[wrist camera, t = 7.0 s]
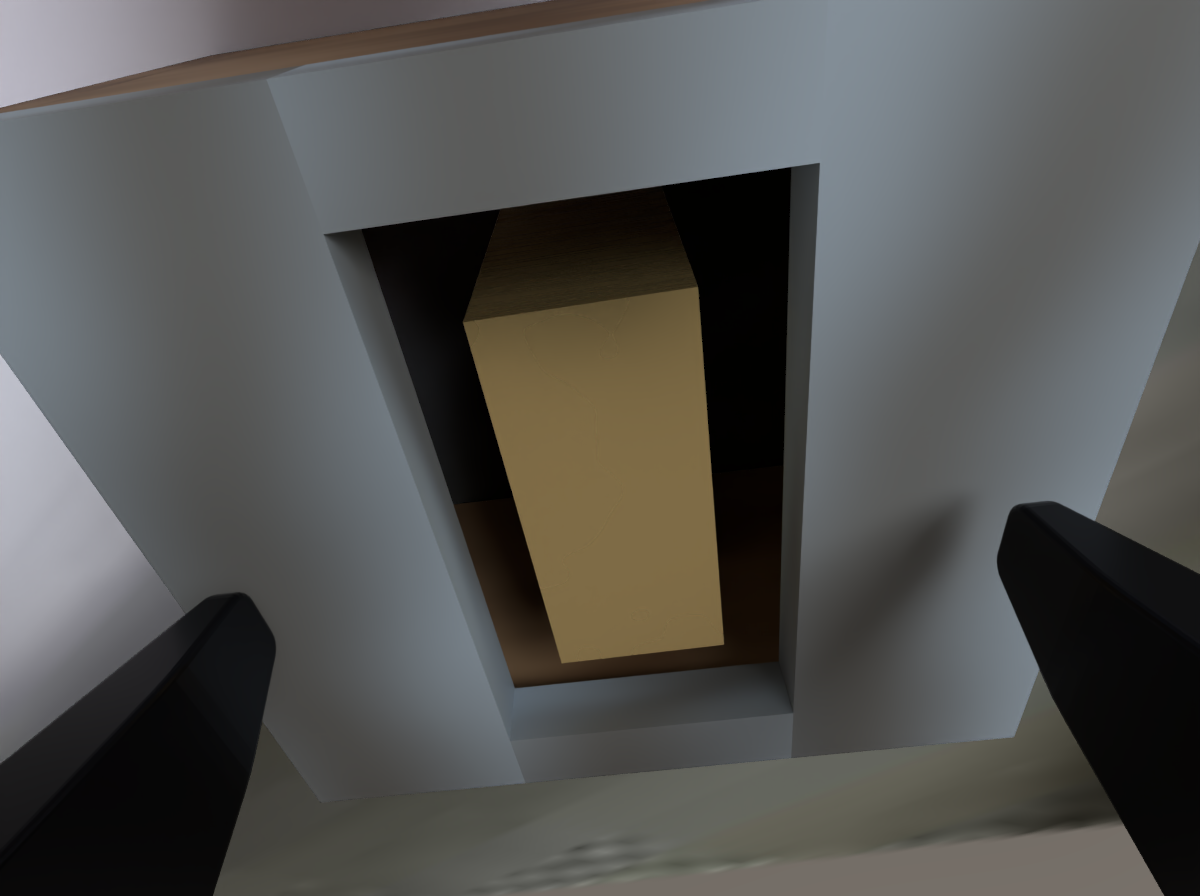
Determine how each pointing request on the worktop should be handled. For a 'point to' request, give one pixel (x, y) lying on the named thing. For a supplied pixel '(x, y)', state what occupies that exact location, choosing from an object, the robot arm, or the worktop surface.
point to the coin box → (741, 498)
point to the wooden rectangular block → (603, 419)
